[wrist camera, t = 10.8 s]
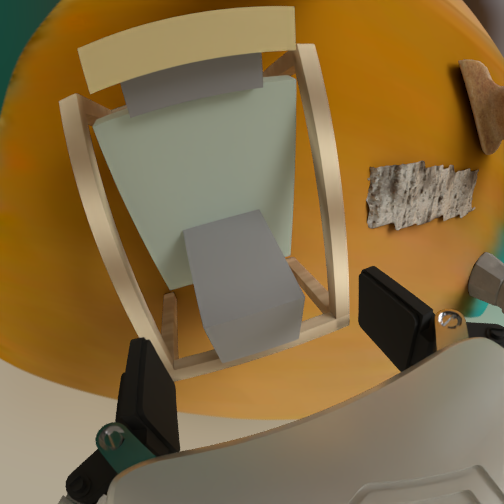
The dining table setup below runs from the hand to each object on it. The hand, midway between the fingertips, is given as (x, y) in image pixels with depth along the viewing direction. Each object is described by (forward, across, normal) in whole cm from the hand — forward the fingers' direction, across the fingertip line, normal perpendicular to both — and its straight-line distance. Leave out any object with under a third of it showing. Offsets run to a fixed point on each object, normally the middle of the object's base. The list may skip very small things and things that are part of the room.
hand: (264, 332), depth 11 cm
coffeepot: (+15, -44, +21) cm, 51 cm away
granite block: (+9, 0, 0) cm, 9 cm away
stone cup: (+15, -42, -10) cm, 46 cm away
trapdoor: (+7, 0, -6) cm, 10 cm away
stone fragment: (+16, -28, +2) cm, 32 cm away
